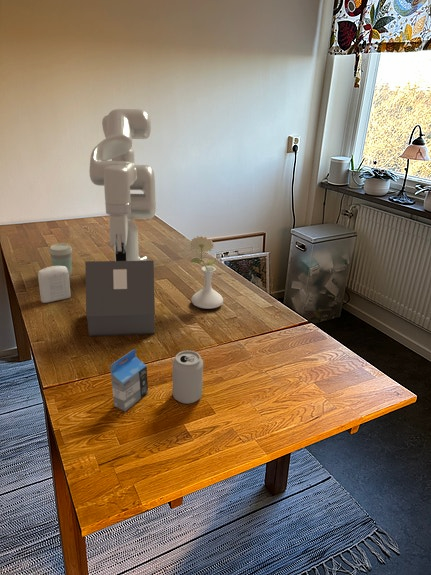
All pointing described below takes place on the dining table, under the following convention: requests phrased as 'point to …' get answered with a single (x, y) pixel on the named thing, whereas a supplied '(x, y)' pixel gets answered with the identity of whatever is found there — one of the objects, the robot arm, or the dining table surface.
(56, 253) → the coffee cup
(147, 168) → the robot arm
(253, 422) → the dining table surface
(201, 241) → the flower in vase
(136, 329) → the box
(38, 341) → the dining table surface
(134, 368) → the label tape box
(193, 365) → the can
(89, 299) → the mailer lid
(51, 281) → the photo printer
